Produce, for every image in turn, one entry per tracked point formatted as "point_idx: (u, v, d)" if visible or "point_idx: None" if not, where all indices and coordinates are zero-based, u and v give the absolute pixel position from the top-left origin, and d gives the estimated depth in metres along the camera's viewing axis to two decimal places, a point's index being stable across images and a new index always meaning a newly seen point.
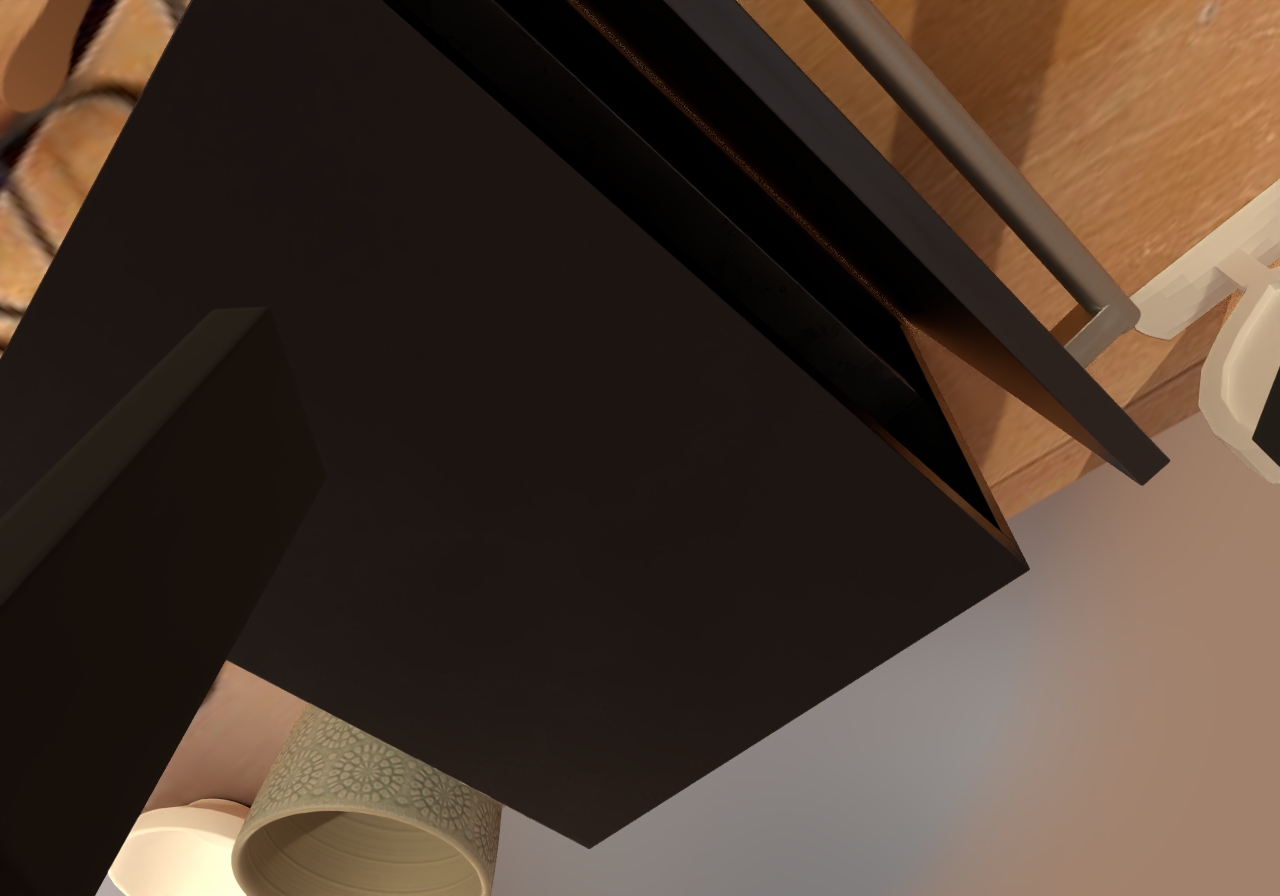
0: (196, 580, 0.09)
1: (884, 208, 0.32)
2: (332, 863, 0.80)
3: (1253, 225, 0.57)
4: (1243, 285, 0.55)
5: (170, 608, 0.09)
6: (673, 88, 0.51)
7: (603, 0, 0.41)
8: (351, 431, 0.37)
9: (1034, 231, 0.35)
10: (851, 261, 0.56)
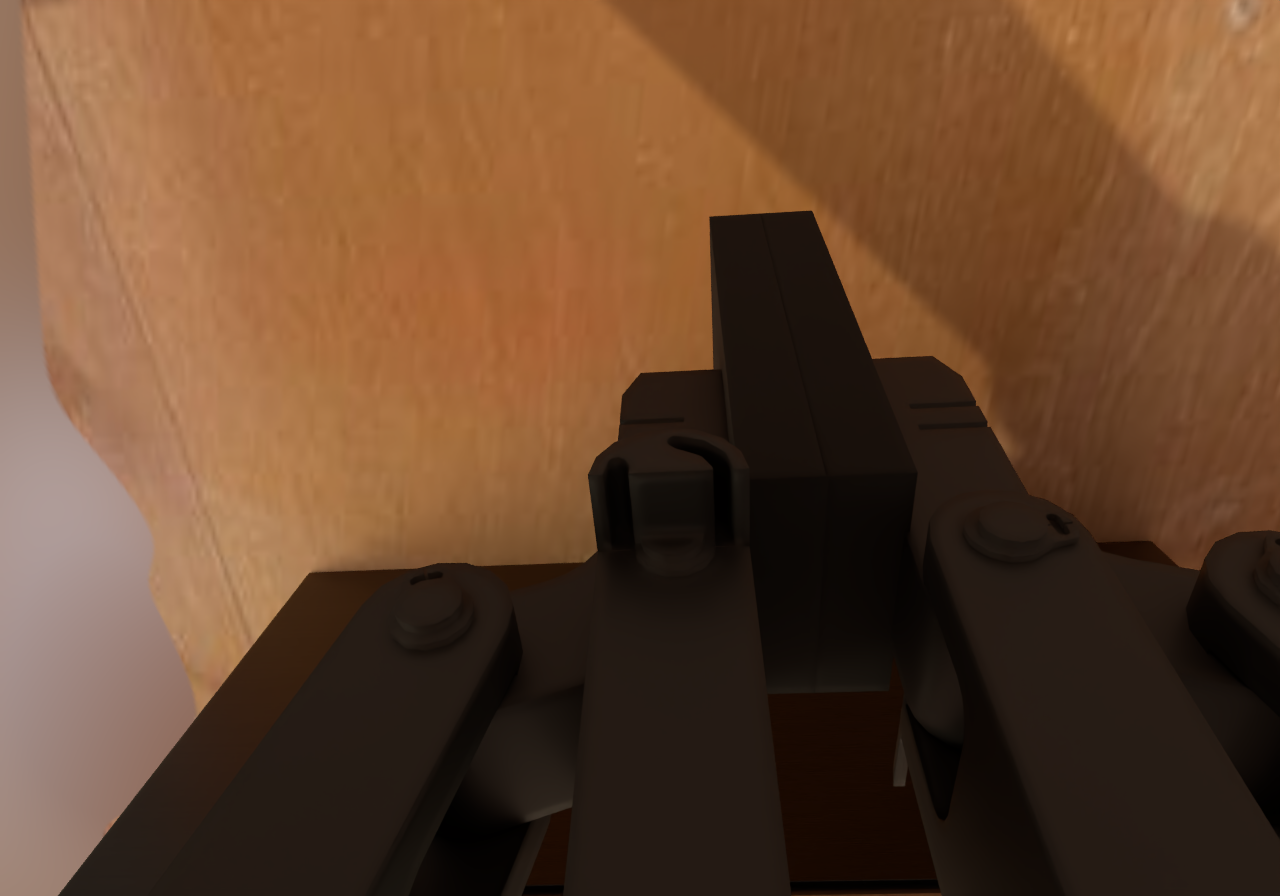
0: None
1: None
2: None
3: None
4: None
5: None
6: None
7: None
8: None
9: None
10: None
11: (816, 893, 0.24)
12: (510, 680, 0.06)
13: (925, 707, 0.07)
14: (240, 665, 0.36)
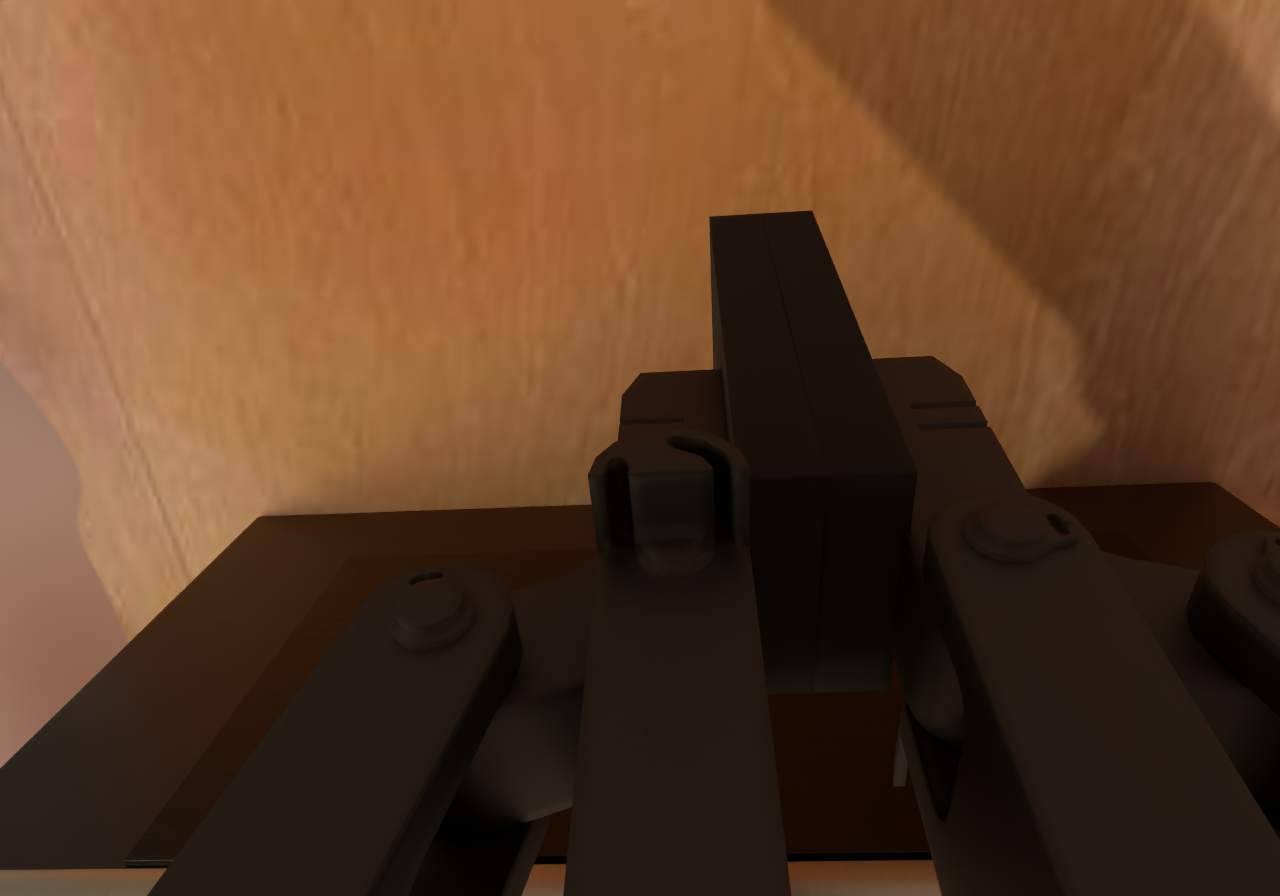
0: None
1: None
2: None
3: None
4: None
5: None
6: None
7: None
8: None
9: None
10: None
11: None
12: (510, 680, 0.06)
13: (925, 707, 0.07)
14: (165, 610, 0.31)
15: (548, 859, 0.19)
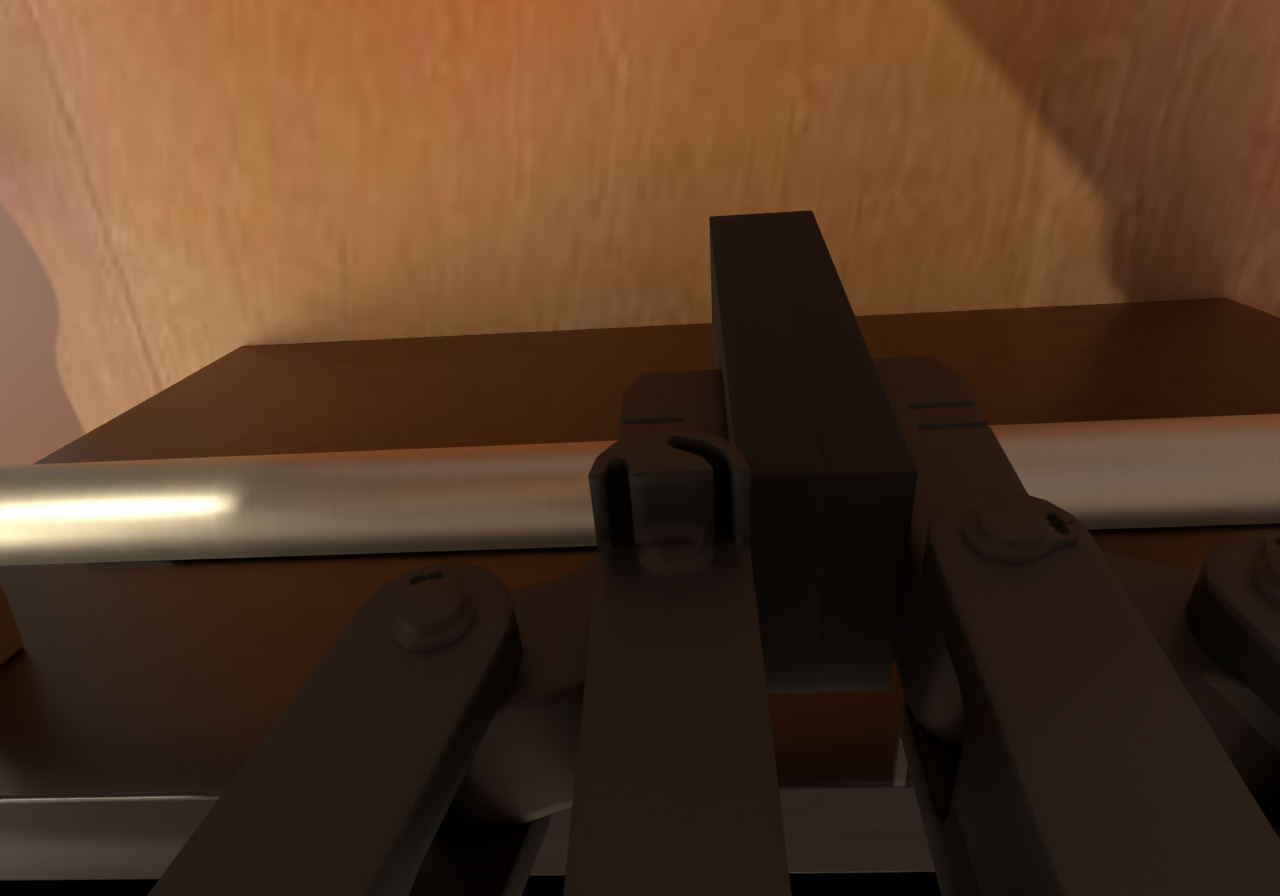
0: None
1: None
2: None
3: None
4: None
5: None
6: None
7: None
8: None
9: None
10: None
11: None
12: (510, 680, 0.06)
13: (925, 707, 0.07)
14: (140, 404, 0.30)
15: None
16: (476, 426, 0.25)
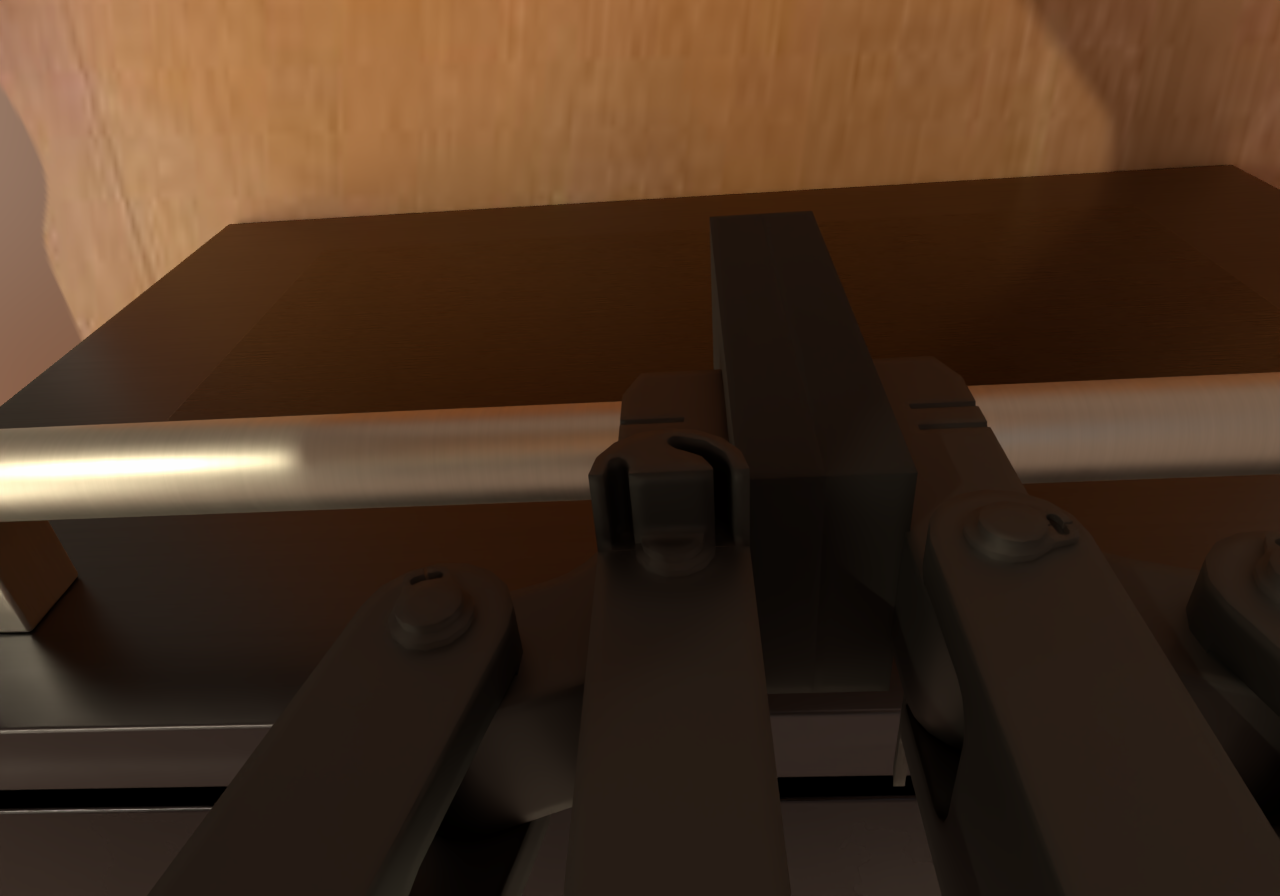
0: None
1: None
2: None
3: None
4: None
5: None
6: None
7: None
8: None
9: None
10: None
11: None
12: (510, 680, 0.06)
13: (925, 707, 0.07)
14: (138, 298, 0.30)
15: None
16: (476, 327, 0.25)
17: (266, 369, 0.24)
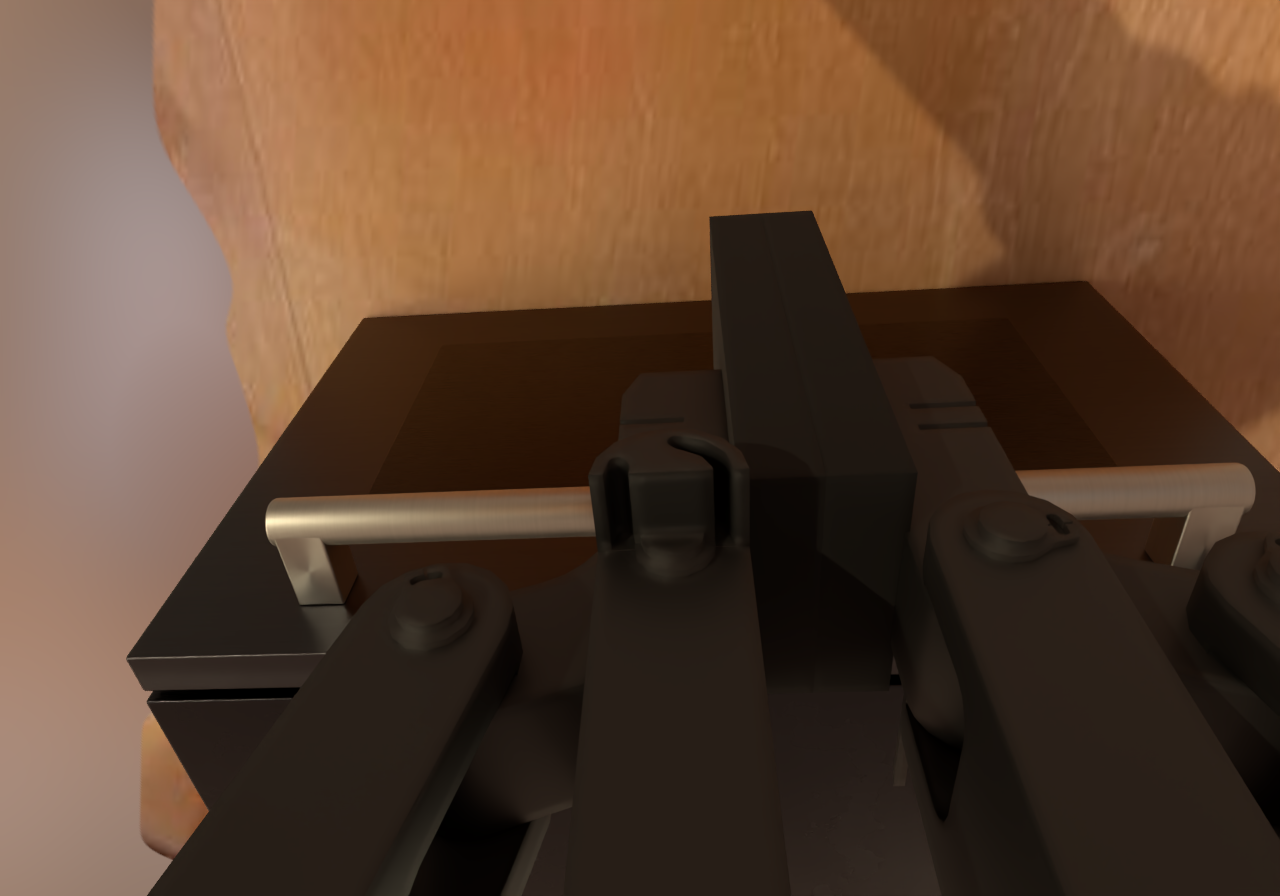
0: None
1: None
2: None
3: None
4: None
5: None
6: None
7: None
8: None
9: None
10: None
11: None
12: (510, 680, 0.06)
13: (925, 707, 0.07)
14: (320, 382, 0.43)
15: None
16: (561, 412, 0.39)
17: (429, 441, 0.37)
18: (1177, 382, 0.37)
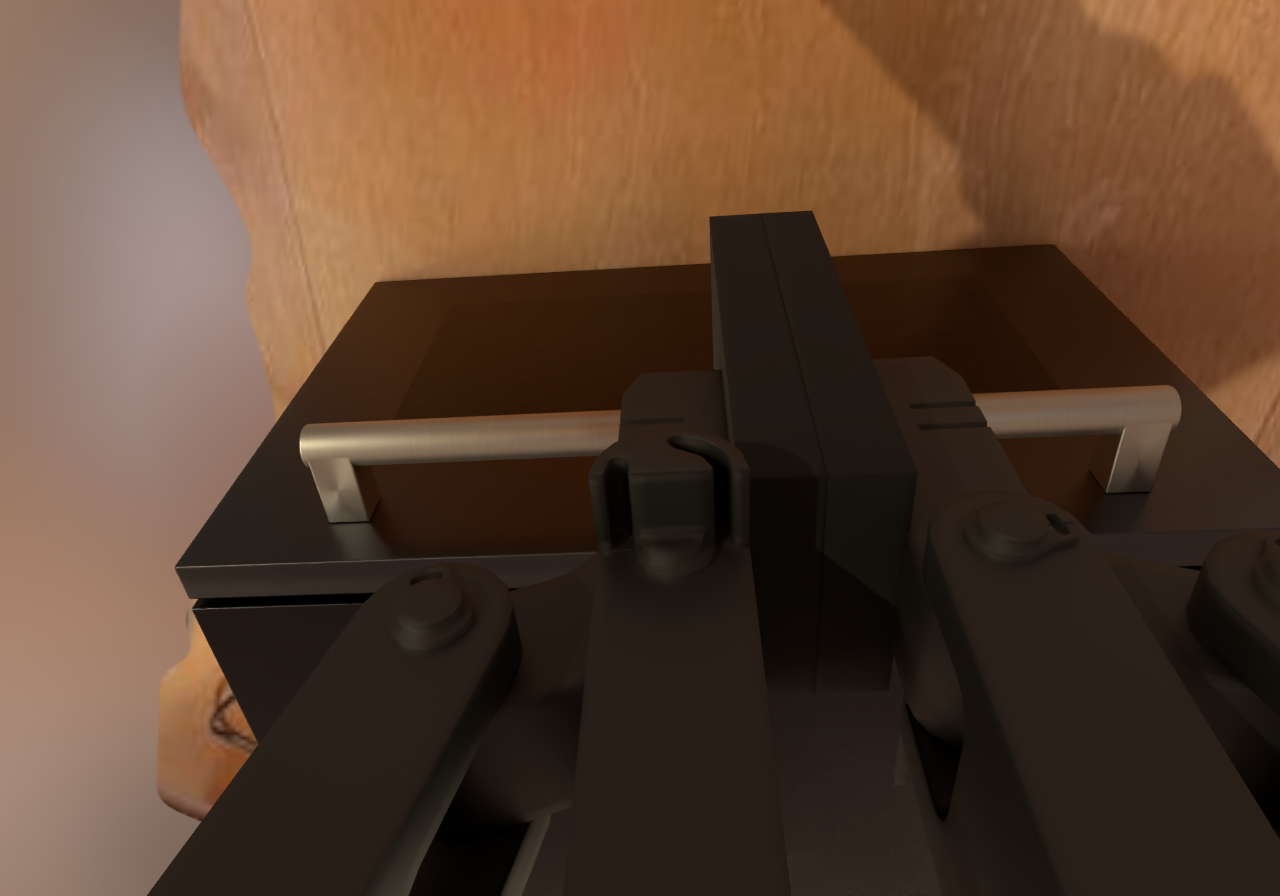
0: None
1: None
2: None
3: None
4: None
5: None
6: None
7: None
8: None
9: None
10: None
11: None
12: (510, 680, 0.06)
13: (925, 707, 0.07)
14: (337, 338, 0.46)
15: None
16: (562, 360, 0.42)
17: (441, 386, 0.41)
18: (1129, 331, 0.41)
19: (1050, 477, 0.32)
